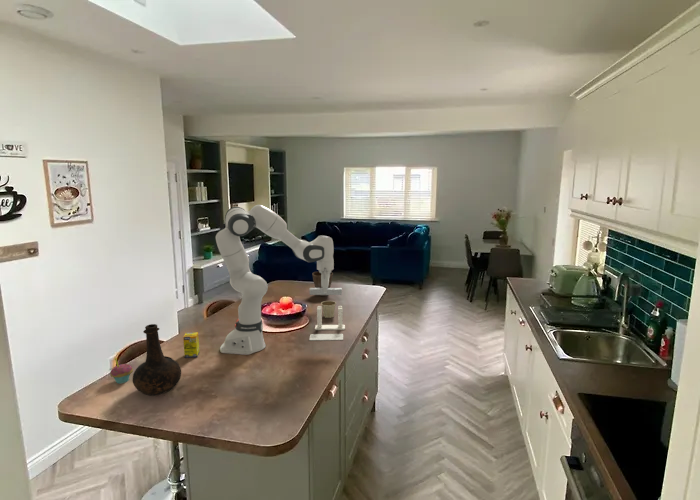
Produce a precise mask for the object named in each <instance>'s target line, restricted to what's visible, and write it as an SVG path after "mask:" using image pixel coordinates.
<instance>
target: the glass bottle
mask: <svg viewBox="0 0 700 500" xmlns="http://www.w3.org/2000/svg"><path fill="white" fill-rule="evenodd" d="M159 330H160V328H159V327H158V324H157V323H156V324H155V323H151V324H148V325H145V327H144V330H143V334H145V339H146V354H145V355H146V357H145V361H144V362H142V363H141V364H140V365H138V366H137V367H136V368H135V370H134V371H133V373H132V384H133V386H134V388H135V389H136V390H137V391H139V392H140V393H141V394H144V395H146V396H159V395H162V394H165V393H168V392H170V391H171V390H173V389H174V388H175V387H176V386H177V385H178V383H179V381H180V379H181V376H182V368H181V366H180V364H179V363H178V362H177V360H174V359H173V358H172V357H170V356H166V355H164V353H163V350H162V346H161V342H160V337H159V332H158V331H159Z"/></svg>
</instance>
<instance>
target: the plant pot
mask: <svg viewBox="0 0 700 500" xmlns="http://www.w3.org/2000/svg"><path fill="white" fill-rule="evenodd" d="M333 276H334V273H333V272H332V271H331V273H330V278H329V285H328V288H331V286H332V281H333ZM312 281H313V284H314V288H322V287H321V273H320V272H319V271H314V272H312ZM318 296H319V297H326V296H327V295H318Z"/></svg>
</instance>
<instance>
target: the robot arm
mask: <svg viewBox="0 0 700 500" xmlns="http://www.w3.org/2000/svg"><path fill="white" fill-rule="evenodd" d="M223 226H224V228H223V229H220V230H219V231H217V233H216V235H215V242H216V245H217V248H218V249H217V250H218V252H219V254H220V256H221V258H222V259H223V262H224V264H225V266H226V269H227V270H228V274H229V285H230V286H231V287H232V289H233V290H235V291H236V292H238V293H239V294H240V293H241V302H240V304H239V305H238V307H237V311H238V312H237V313H238V319H236V321H235V323H234V329H233V330H232V331H230V332H229V333H228V334H227V335H226V336H225V339H224V342H223V343H222V344H221V346H220V347H219V352H220V353H222V354H232V355H243V356H244V355H245V356H249V355H251V354H254V353H256V352H260V351H262V350H264V349H265V348H266V343H265V340H264V335H263V329H264V326H263V319H262V301H263V297H264V296H265V295H266V293H267V292H268V286H269V285H268V283H267V281H266V280H265V279H264V278H263V277H261V276H260V275H257V274H254V273H253V272H252V271H251V269H250V265H249V263H250V258H249V256H248V254H247V251H246V249H245V247H244V245H243V242H242V241H241V237H244V236H247V235H248V234H249V233H250V232H251V231H253V230H255V228H256V229H258V230H260V231H261V232H262V233H264V234H265V235H267V236H269V237H270V238H272V239H275V240H279V241H281V242H282V243H283V244H285V245H286V246H288V247H289V248H290V249H291V250H292V253H293V254H294V256H295V257H296V258H297V259H300V260H303V261H305V262H307V263H314V262H316V270H318V272H320V273H321V287H322V288H323V289H324V293H327V288H328V285H329V278H330V273H331V272H332V271H333V270H334V269H335V268H334V266H335V263H334V262H335V261H334V253H335V252H334V251H335V250H334V249H335V247H334V241H333V238H332V237H330V236H327V235H323V234H322V235H318V236H317V237H316V238H315V239H313V240H312V241H307V240H306V239H301V238H298V237H297V236H295V235H294V234H293V233H291V231H289V230H288V224H287V222H286V221H285V220H284V219H283V218H282V217H281V216H280V215H279V214H278V213H276V212H275V211H273V210H272V209H271V208H268V207H266V206H264V205H262V204H256V205H253V207H251V209H250V210H248V211H246V210H245V209H244V208H243V207H240V206H233V207H231V208H229V209H228V210H227V211H226V213H225V215H224V225H223Z"/></svg>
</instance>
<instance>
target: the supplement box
mask: <svg viewBox="0 0 700 500" xmlns="http://www.w3.org/2000/svg"><path fill="white" fill-rule="evenodd" d="M199 339H200V338H199V332H197V331H196V332H185V334H184V335H183V337H182V340H183V351H184V352H183V354H184V358H185V359H191V358H198V357H199V354H200V340H199Z"/></svg>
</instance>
